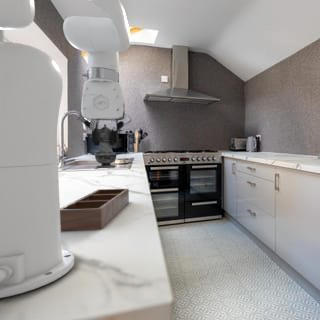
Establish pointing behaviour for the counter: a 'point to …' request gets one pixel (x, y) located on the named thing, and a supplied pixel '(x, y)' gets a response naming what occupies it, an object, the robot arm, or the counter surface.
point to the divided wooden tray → (93, 209)
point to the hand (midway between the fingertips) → (105, 144)
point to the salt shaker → (105, 150)
